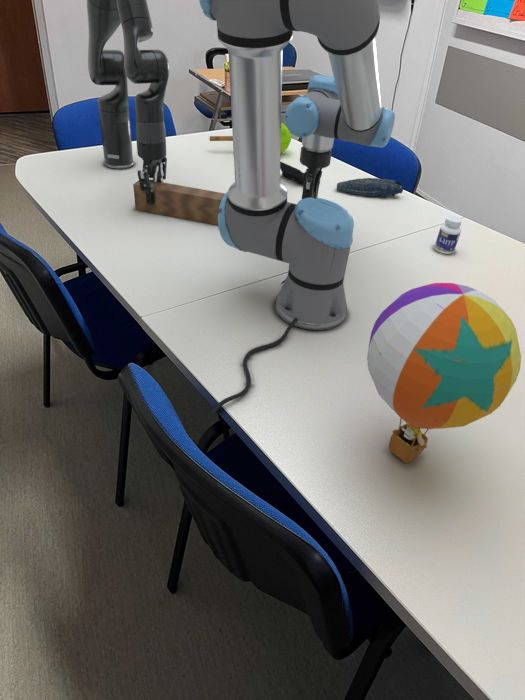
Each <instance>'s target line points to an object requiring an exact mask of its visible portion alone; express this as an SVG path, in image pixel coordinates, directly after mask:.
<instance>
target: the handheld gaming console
mask: <svg viewBox="0 0 525 700" xmlns="http://www.w3.org/2000/svg"><path fill="white" fill-rule="evenodd" d="M280 172H281V175H282V176H284V177H286V178H288V179H291V180H293V181H295V182H296V183H299V184H301V185H303V182H304V173H305V172H303V171H302V170H301V169H298V168H296V167H294V166H292V165H290V164H288V163H285V162H283V161H281V160H280Z"/></svg>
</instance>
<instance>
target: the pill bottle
mask: <svg viewBox="0 0 525 700" xmlns="http://www.w3.org/2000/svg"><path fill="white" fill-rule="evenodd" d="M462 222H463V219H461V218H460V217H458V216H455V215H448V216H446V218H445V220H444V223H443V224H442V225H440V228H439V231H438V234H437V237H436V240H435V243H434V250H435V251H437V252H439V253H441V254H447V255H449V254H453V253H454V252H455V250H456V247H457V244H458V242H459V239H460V236H461V233H462V229H461V225H462Z"/></svg>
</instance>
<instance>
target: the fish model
mask: <svg viewBox="0 0 525 700" xmlns="http://www.w3.org/2000/svg"><path fill="white" fill-rule="evenodd" d="M336 190H337V191H341V192H344V193H347V194H352V195H357V196H366V197H367V196H368V197H379V198H380V197H381V198H386V197H388V196H391V197H396V196H397V195H399V194H402V193H403V191H404V187H403V185H402V182H401V181H397V180H393V179H388V178H379V177H364V178H354V179H348V180H344V181H340V182H337V184H336Z"/></svg>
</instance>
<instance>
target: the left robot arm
mask: <svg viewBox="0 0 525 700" xmlns="http://www.w3.org/2000/svg"><path fill="white" fill-rule="evenodd" d="M86 13H87V23H88V45H87V47H88V49H87V68H88V69H87V70H88V75H89V78H90V80H91V82H92V83H93V84H94V85H98V86H115V87H114V88H113V89H112V90H111V91H109V92H108V93H106V94H104V95H101V96H100V97H98V99H97V109H98V116H99V117H98V118H99V125H100V126H99V127H100V134H101V143H102V151H103V160H104V161H103V162H104V166H105V167H108V168H110V169H117V170H119V169H120V170H121V169H122V170H123V169H129V168H131V167H133V166H134V164H135V163H134V153H133V140H132V128H131V116H130V105H129V90H128V80H129V81H130V82H131V83H133V84H135V85H141V84H143V85H144V84H150V85H149V87H148V88H147V89H146V90H144V91H142V92H139V93H137V94H136V95H135V96H134V111H135V138H136V139H135V140H136V153H137V156H138V157H139V159H142V170H138V171H137V178H138V180H139V183H140V188H141V191H145V192H146V203H147V204H149V205H154V204H155V198H154V184H155V183H156V181H158V182H163V183H164V181H166V179H167V165H168V158H167V135H166V133H167V132H166V125H165V108H164V103H165V102H164V101H165V96H166V90H167V86H168V81H169V76H170V62H169V58H168V57H167V55H166V53H164V51H163V50H161V49H139V43H143V42H145V41H148V40H150V39H151V38H152V37H153V35H154V27H153V22H152V18H151V13H150V9H149V6H148V2H147V0H86ZM120 25H121V28H122V34H123V50H120V49H104V48H105V46H106V44H107V42H108V41H109V40H110V38H112V36H113V35H114V34H115V32H117V30H118V29H119V27H120ZM150 183H151V186H150Z"/></svg>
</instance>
